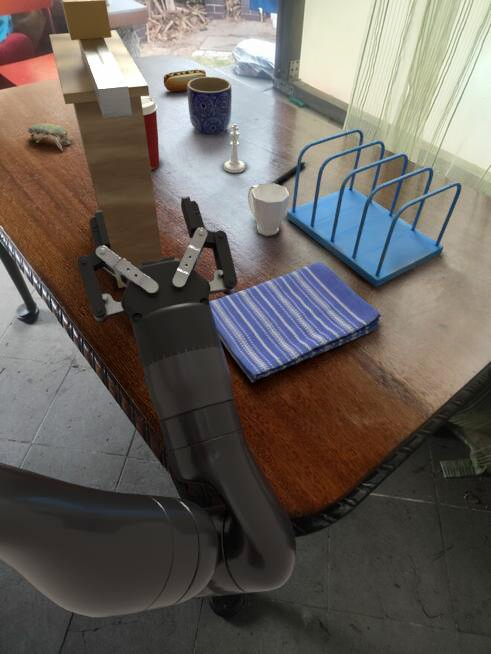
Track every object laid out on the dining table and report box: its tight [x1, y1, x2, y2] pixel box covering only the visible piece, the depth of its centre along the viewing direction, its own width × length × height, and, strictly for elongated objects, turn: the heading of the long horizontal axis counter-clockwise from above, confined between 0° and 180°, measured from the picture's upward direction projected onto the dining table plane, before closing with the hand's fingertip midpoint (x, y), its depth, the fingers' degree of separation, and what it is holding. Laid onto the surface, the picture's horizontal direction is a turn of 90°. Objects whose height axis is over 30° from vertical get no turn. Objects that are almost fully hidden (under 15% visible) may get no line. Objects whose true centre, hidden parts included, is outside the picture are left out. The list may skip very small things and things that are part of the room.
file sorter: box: [286, 128, 462, 288], centre depth 82 cm, size 25×17×15 cm
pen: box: [271, 161, 306, 185], centre depth 102 cm, size 1×16×1 cm, turn 143°
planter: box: [186, 76, 233, 136], centre depth 115 cm, size 11×11×11 cm
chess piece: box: [223, 123, 246, 174], centre depth 102 cm, size 5×5×10 cm
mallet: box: [60, 0, 132, 119], centre depth 53 cm, size 22×5×7 cm, turn 20°
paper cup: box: [141, 96, 160, 171], centre depth 100 cm, size 8×8×14 cm
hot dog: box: [163, 69, 207, 93], centre depth 136 cm, size 5×13×5 cm, turn 115°
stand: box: [48, 29, 164, 289], centre depth 73 cm, size 25×10×31 cm, turn 20°
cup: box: [247, 182, 291, 237], centre depth 86 cm, size 7×10×8 cm
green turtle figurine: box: [27, 122, 71, 152], centre depth 110 cm, size 9×11×5 cm
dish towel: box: [209, 261, 382, 383], centre depth 71 cm, size 17×24×3 cm
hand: (142, 207), depth 45 cm, fingers open, 8 cm apart
